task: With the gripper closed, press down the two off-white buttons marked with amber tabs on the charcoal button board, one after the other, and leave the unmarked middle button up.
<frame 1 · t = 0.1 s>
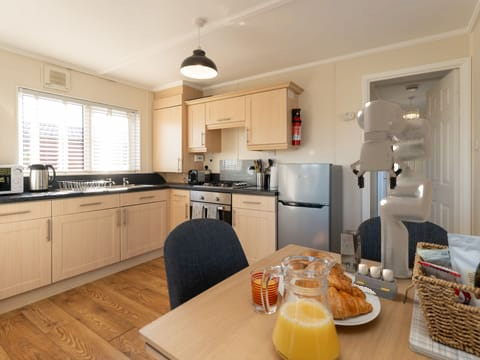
hand: (376, 188, 88), 37 cm above the table, tool pointing down, fingers open, 9 cm apart
end button 1: (387, 275, 88), point 6 cm above the table, slide at 0.0 cm
middle button: (375, 272, 91), point 6 cm above the table, slide at 0.0 cm
button board: (375, 290, 92), on the table
coffee box: (351, 269, 112), on the table
end button 2: (363, 270, 94), point 6 cm above the table, slide at 0.0 cm
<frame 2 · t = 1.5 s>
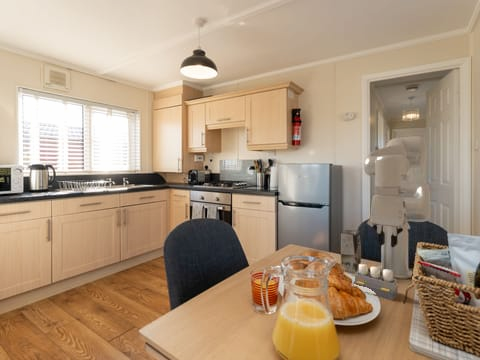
hand: (387, 245, 88), 17 cm above the table, tool pointing down, fingers closed
nothing on the table moved.
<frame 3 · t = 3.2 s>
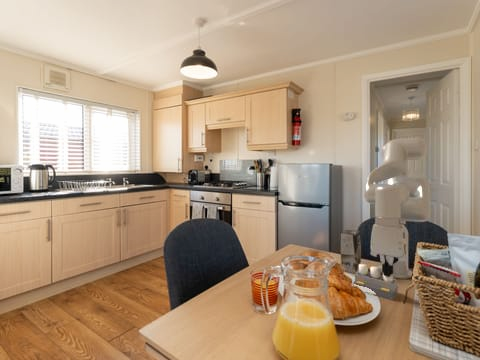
hand: (387, 275, 88), 7 cm above the table, tool pointing down, fingers closed
end button 1: (387, 279, 89), point 5 cm above the table, slide at 1.4 cm, touching gripper
everything else where it was.
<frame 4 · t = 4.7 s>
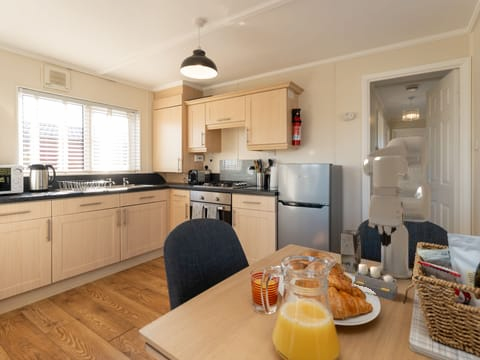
hand: (385, 245, 89), 17 cm above the table, tool pointing down, fingers closed
end button 1: (387, 281, 89), point 4 cm above the table, slide at 2.0 cm
everything else where it was.
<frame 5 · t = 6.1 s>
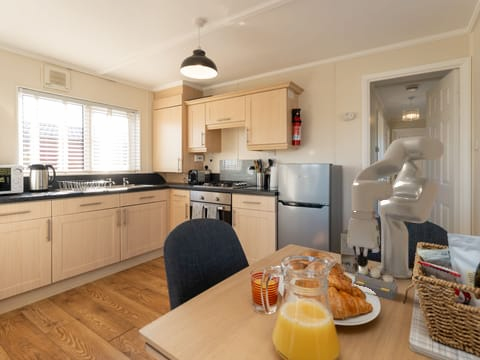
hand: (362, 265, 94), 8 cm above the table, tool pointing down, fingers closed
end button 2: (363, 270, 94), point 6 cm above the table, slide at 0.1 cm, touching gripper
everything else where it was.
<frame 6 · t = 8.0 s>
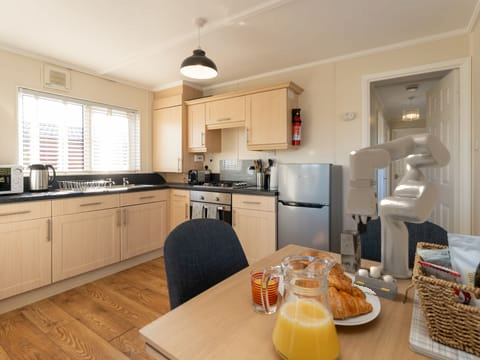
hand: (362, 233, 95), 20 cm above the table, tool pointing down, fingers closed
end button 2: (363, 275, 94), point 4 cm above the table, slide at 2.0 cm
everything else where it was.
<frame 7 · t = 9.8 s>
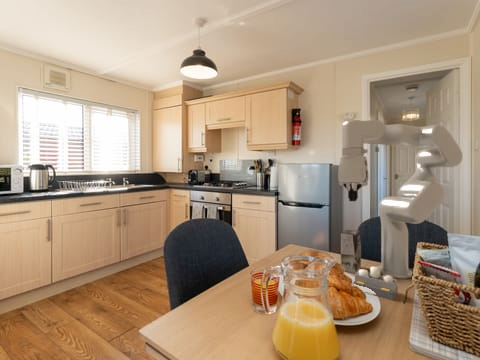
hand: (353, 200, 99), 31 cm above the table, tool pointing down, fingers closed
nothing on the table moved.
at the end: end button 1 slide at 2.0 cm; end button 2 slide at 2.0 cm; middle button slide at 0.0 cm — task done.
